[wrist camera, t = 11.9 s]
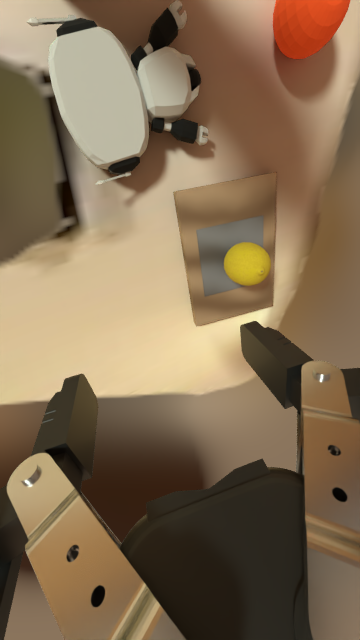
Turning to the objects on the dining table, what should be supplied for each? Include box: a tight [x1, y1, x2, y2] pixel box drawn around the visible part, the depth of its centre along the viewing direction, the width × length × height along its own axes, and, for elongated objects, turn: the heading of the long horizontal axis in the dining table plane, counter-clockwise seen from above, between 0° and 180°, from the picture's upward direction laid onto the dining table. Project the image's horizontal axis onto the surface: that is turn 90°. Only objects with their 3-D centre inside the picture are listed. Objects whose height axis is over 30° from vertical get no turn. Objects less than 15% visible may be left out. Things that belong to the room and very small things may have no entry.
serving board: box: [173, 172, 277, 326], centre depth 35 cm, size 20×14×2 cm
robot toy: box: [27, 0, 209, 185], centre depth 24 cm, size 12×4×15 cm
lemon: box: [224, 242, 271, 286], centre depth 31 cm, size 6×6×8 cm
